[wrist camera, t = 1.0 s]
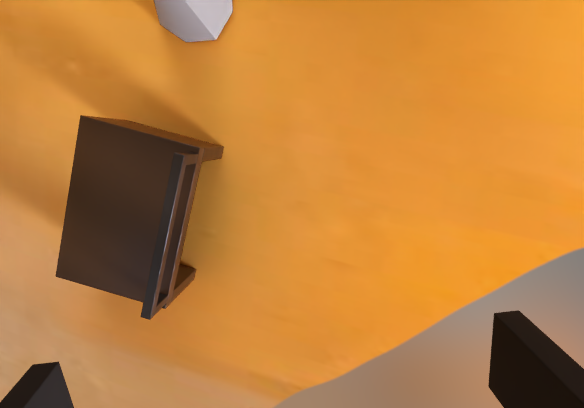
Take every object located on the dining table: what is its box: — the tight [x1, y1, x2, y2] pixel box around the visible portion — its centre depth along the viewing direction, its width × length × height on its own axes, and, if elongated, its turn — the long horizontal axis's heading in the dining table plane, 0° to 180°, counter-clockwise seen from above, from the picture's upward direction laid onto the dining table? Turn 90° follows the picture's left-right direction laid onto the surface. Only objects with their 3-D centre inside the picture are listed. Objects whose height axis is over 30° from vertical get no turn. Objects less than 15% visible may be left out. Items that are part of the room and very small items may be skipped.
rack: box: [56, 115, 224, 320], centre depth 33 cm, size 14×10×10 cm
